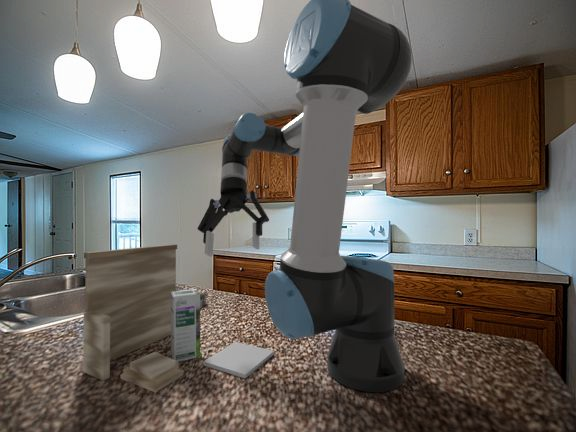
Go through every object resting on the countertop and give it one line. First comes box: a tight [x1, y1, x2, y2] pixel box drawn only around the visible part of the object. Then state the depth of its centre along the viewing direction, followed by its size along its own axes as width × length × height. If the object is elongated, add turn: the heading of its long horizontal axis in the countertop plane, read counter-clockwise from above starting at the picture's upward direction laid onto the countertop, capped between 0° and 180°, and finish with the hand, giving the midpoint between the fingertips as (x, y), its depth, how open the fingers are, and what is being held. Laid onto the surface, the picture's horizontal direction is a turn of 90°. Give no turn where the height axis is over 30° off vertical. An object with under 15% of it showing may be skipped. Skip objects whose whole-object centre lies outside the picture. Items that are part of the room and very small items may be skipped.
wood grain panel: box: [82, 243, 178, 381], centre depth 66 cm, size 8×23×24 cm, turn 153°
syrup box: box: [170, 288, 201, 363], centre depth 64 cm, size 6×6×14 cm
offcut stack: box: [120, 351, 184, 393], centre depth 55 cm, size 10×7×4 cm
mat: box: [202, 341, 275, 379], centre depth 62 cm, size 11×11×1 cm
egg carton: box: [200, 292, 208, 309], centre depth 102 cm, size 11×8×4 cm
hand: (231, 251), depth 73 cm, fingers open, 13 cm apart
